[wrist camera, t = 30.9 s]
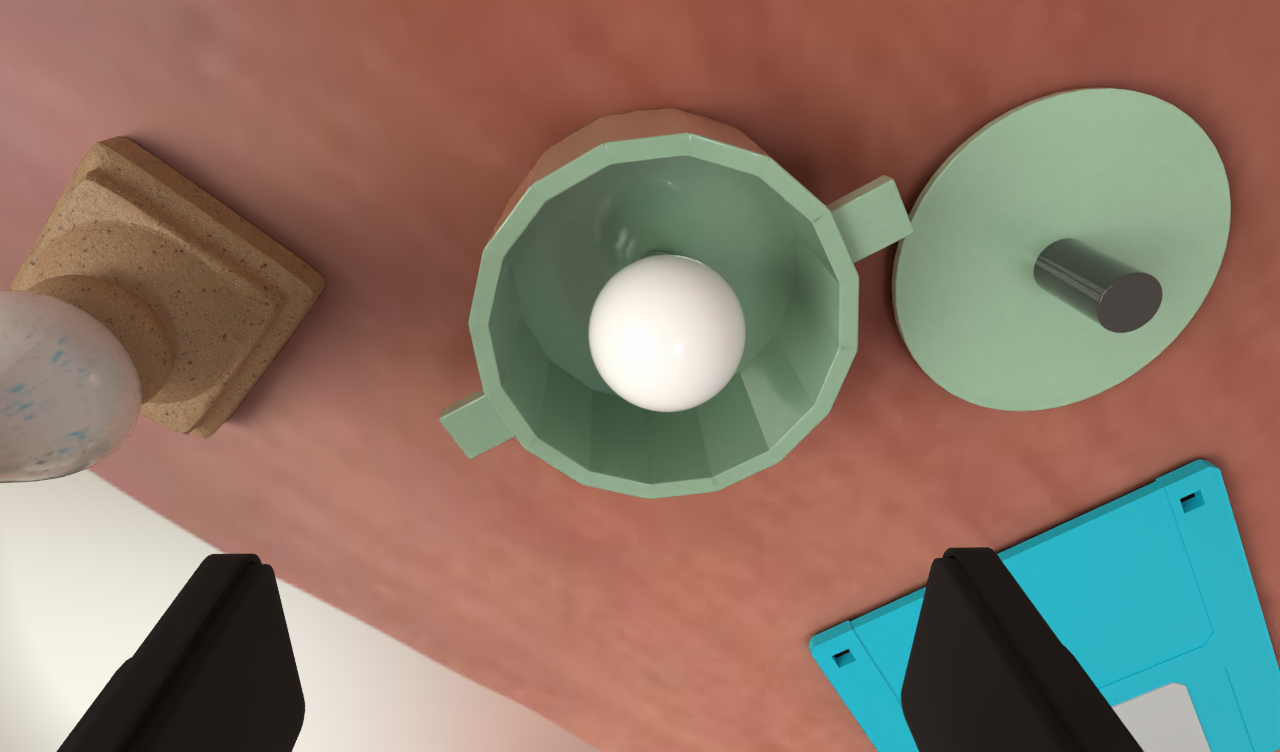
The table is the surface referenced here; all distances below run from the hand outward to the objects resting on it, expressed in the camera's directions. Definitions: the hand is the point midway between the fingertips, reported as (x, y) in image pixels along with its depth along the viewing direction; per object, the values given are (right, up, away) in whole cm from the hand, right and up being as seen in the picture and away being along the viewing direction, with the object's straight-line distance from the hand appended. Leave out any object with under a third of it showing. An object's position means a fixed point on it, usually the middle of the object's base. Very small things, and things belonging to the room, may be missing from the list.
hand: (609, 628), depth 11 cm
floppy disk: (+30, -18, +41) cm, 54 cm away
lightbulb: (+1, +9, +27) cm, 28 cm away
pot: (+1, +9, +27) cm, 29 cm away
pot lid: (+21, +9, +27) cm, 36 cm away
